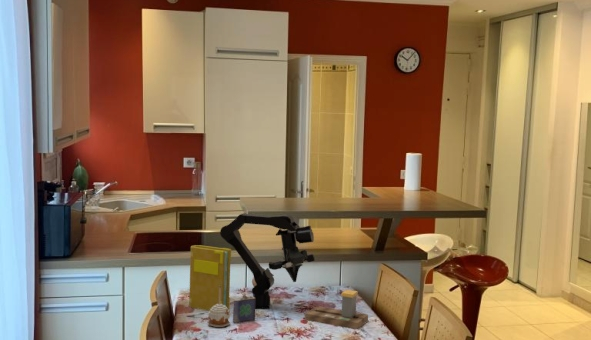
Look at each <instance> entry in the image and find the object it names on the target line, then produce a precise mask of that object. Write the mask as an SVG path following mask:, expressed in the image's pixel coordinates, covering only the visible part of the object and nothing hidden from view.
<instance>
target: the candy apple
mask: <svg viewBox="0 0 591 340" xmlns="http://www.w3.org/2000/svg"><path fill="white" fill-rule="evenodd" d="M220 301H221V286H219V304H216V305H215V306H213V307H212V308H211V309H210V311H208V314H207V315H208V317H207V318H208V319H209V321H207V323H208V326H211V327H216V328H224V327H226V326H229V325H230V324H231V323H230V320H229V319H230V317H231V313H230V312H231V311H230V310H228V308H227V307H226V306H225V305H222V304H220Z"/></svg>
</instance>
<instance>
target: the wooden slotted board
mask: <svg viewBox="0 0 591 340" xmlns="http://www.w3.org/2000/svg"><path fill="white" fill-rule="evenodd" d="M304 320H305V321H310V322H315V323H321V324H326V325H332V326H337V327H342V328H343V327H344V328H347V329H354V330H359V329H360V328H361V327H362V326H364V325H365V324H366V323H367V322H368V321H369V314H365V313H361V312H356V315H355V316H353V318H349V317H343V316H342V309H337V308H336V309H335V308H332V307H325V306H319V305H317V306H315V307H313V308H312V309H310V310H308V311H307V312H305V313H304Z"/></svg>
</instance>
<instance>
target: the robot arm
mask: <svg viewBox="0 0 591 340" xmlns="http://www.w3.org/2000/svg"><path fill="white" fill-rule="evenodd" d="M244 224H247V225H248V224H249V225H261V226H264V225H265V226H271V227H274V228H277V229H278V230H277V232H276V234H275V236H280V238H281V245H282V247H281V251H282V252H283V260H279V259H275V260H272V261H268V267H267V268H266V269H265V268H263V267H262V266H261V265H260V263H259V262H258V260H257V259H256V257H255V256H254V255H253V253H252V252H251V250H250V249H249V248H248V247H247V245H246V243H245V242H244V240H243V238H242V235H241V232H240V231H239V230H240V229H241V228H242V227H243V226H244ZM219 234H220V237H221V238H222V239H223V240H224V241H225V242H226V243H227V244H229V245H230V246H232V247H233V248H234V249H235V251H236V252H237V254H238V255H239V257H240V258H241V259H242V261H243V262H244V264H245V266H247V268H248V270H249V271H250V272H251V273H252V276H253V277H254V279H255V282H256V284H257V285H256V286H255V287H254V286H253V287H252V289H251V292H252V297H255V298H256V305H255V310H257V309H258V310H259V309H261V310H262V309H270V305H271V295H270V292H269V290H270V288H272V287H273V285H274V284H275V278H274V274H273V273H272V272H271V270H281V269H284V270H285V271H286V272H287V273H288V275H289V276H290V278H291V280H292V282H293V283H296V282H297V279H298V273H299V271H300V268H301V267H302V266H303V264H304V262H307V263H311V262H315V261H316V259H315V256H314V254H313V253H307V252H308V251H307V249H302V250H299V247H298V246H297V243H299V244H307V243H314V241H315V237H314V232H313V229H312V226H311V225H306V226H300V225H299V224H298V223H297V222H296V221H295V219H294V217H293V215H291V214H289V213H284V214H276V215H267V214H266V215H265V214H253V213H252V214H251V213H245V212H244V213H240V214H238V216H237V217H236V218H234V219H233V220H232V221H231V222H230V223H228V224H227V225H224V226H222V227H221V228H220V231H219Z"/></svg>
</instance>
